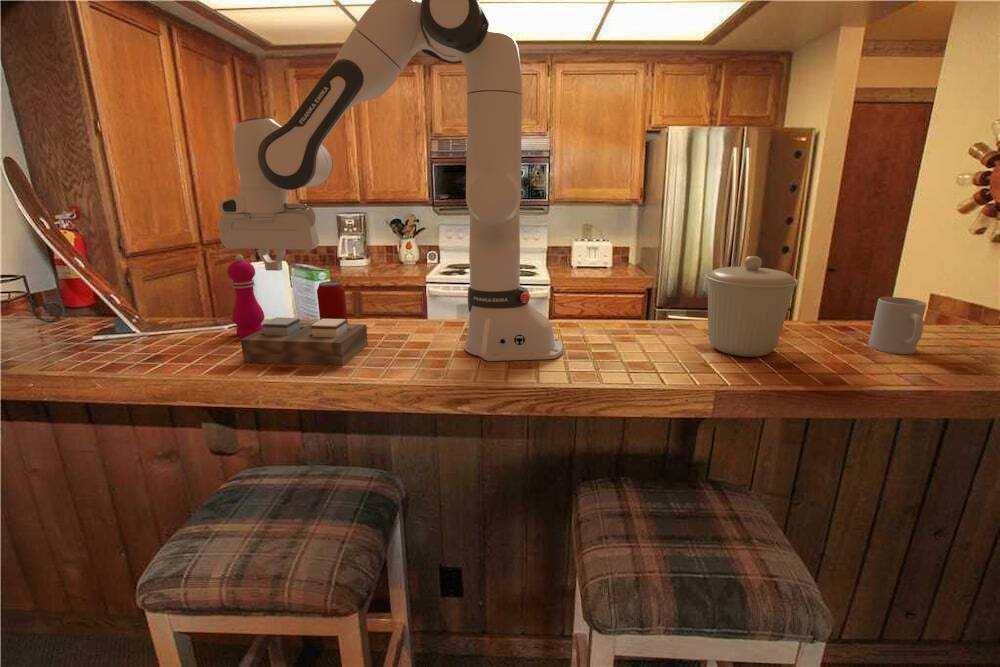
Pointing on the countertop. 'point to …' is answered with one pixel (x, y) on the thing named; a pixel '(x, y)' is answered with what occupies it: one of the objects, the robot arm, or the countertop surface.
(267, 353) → the frame
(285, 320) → the slate key
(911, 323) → the mug
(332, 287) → the beverage can
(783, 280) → the canister
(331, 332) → the cream key
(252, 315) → the pepper mill
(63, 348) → the countertop surface
